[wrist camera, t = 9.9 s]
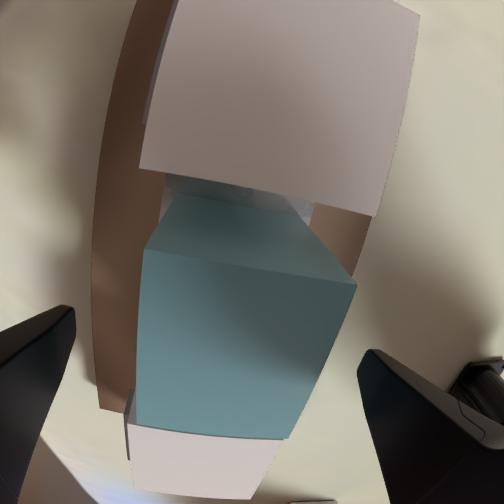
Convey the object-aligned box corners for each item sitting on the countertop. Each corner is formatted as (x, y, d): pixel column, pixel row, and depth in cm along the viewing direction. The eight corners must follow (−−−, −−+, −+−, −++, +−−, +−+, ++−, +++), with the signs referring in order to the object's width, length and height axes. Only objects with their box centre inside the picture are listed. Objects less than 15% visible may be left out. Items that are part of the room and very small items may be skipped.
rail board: (393, 68, 13) (409, 65, 11) (281, 415, 20) (285, 431, 19) (145, 7, 11) (138, -4, 9) (105, 392, 18) (99, 408, 17)
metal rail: (350, 39, 11) (355, 36, 10) (240, 429, 18) (240, 435, 18) (208, 2, 10) (208, -2, 9) (145, 418, 17) (144, 423, 17)
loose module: (300, 217, 13) (357, 284, 8) (265, 338, 15) (287, 438, 10) (177, 193, 12) (143, 248, 7) (159, 322, 14) (136, 423, 9)
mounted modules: (353, 47, 11) (420, 15, 6) (242, 431, 18) (250, 499, 13) (195, 7, 10) (183, -56, 5) (138, 418, 17) (126, 486, 12)
